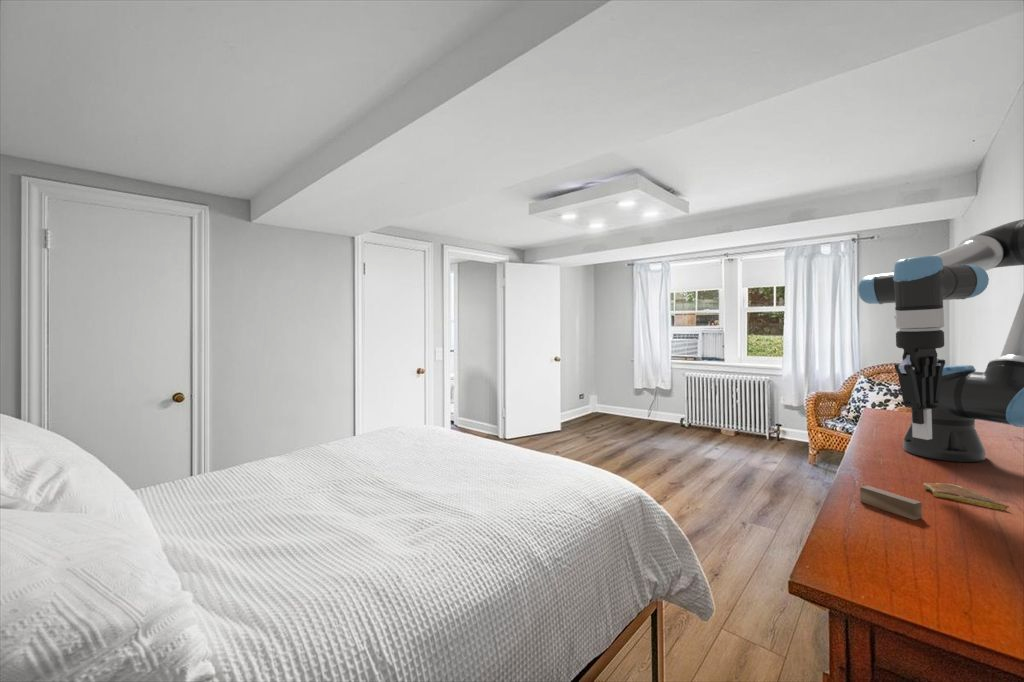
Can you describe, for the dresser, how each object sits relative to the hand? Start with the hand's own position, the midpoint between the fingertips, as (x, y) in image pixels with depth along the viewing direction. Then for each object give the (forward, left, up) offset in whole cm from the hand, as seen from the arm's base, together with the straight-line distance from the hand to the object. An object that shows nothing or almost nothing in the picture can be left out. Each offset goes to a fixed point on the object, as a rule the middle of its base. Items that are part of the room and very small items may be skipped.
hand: (922, 437), depth 92 cm
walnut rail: (+20, +5, -10) cm, 23 cm away
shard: (0, +7, -11) cm, 13 cm away
